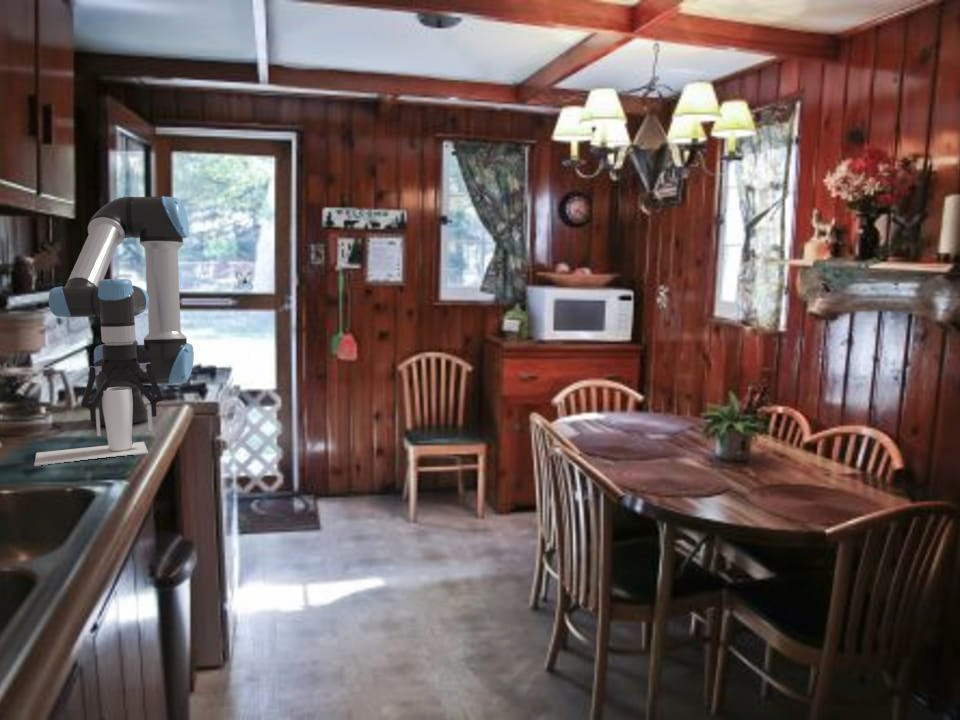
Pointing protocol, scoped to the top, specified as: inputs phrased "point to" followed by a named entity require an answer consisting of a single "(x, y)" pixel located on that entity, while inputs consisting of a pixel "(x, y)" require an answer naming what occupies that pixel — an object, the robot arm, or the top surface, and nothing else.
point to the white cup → (118, 417)
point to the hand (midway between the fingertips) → (125, 432)
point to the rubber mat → (86, 454)
